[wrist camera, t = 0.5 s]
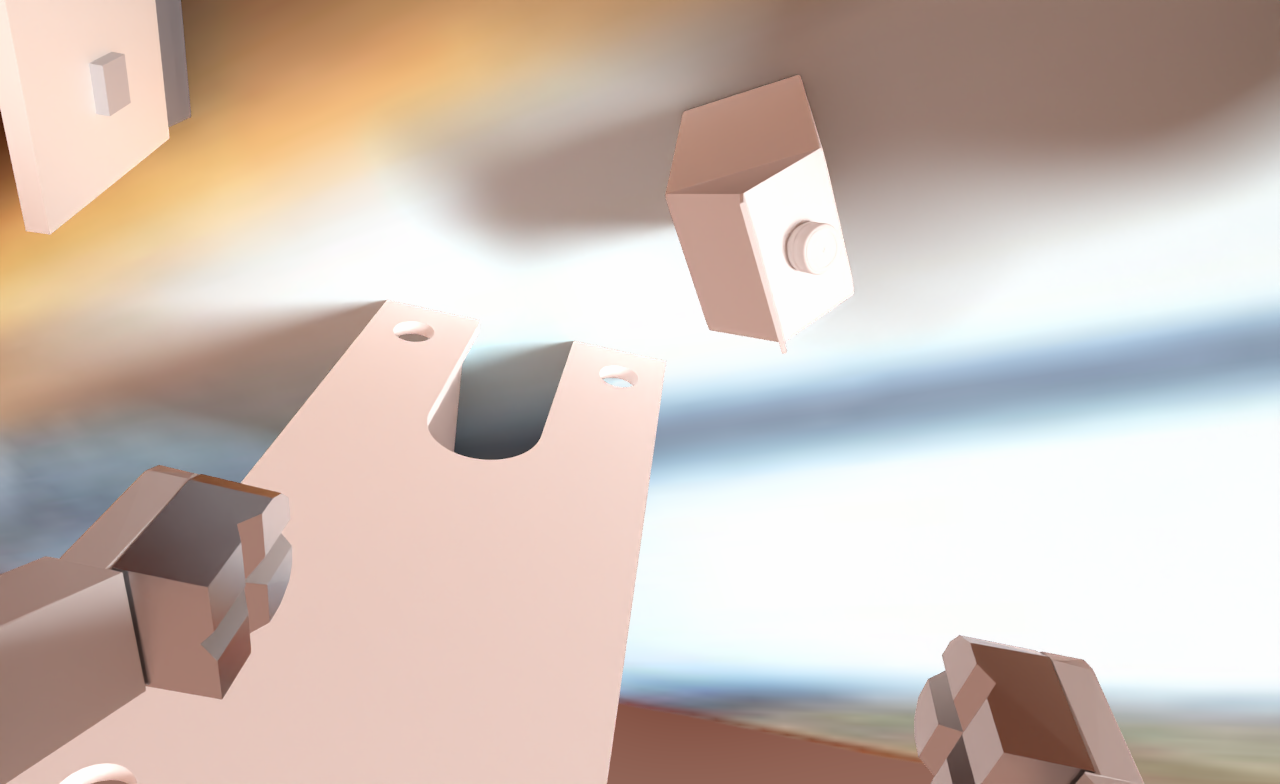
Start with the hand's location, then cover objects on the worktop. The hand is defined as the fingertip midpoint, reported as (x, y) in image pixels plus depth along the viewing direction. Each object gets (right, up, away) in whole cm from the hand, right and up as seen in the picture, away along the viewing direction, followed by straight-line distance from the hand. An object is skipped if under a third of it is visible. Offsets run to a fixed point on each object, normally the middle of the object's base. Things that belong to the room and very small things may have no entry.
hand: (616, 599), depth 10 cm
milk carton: (+7, +17, +41) cm, 45 cm away
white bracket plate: (-9, +1, +53) cm, 54 cm away
